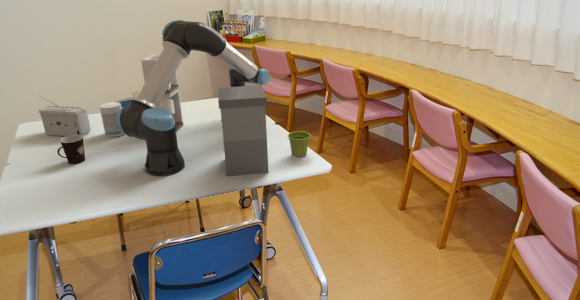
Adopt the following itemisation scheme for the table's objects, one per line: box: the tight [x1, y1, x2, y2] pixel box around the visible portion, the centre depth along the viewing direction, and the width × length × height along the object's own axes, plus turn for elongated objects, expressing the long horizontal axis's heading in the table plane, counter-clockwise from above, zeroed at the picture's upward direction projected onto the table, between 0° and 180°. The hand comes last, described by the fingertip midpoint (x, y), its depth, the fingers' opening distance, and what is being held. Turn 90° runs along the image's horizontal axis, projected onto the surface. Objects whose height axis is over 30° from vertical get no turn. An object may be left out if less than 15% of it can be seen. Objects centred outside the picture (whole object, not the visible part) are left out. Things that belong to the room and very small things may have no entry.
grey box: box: [217, 84, 270, 177], centre depth 173 cm, size 17×17×30 cm
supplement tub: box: [99, 101, 125, 138], centre depth 212 cm, size 10×10×15 cm
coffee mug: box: [57, 135, 86, 165], centre depth 185 cm, size 12×9×10 cm
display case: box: [140, 54, 184, 133], centre depth 213 cm, size 11×11×35 cm
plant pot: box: [287, 131, 311, 158], centre depth 186 cm, size 9×9×9 cm
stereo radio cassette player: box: [37, 95, 91, 137], centre depth 213 cm, size 21×8×20 cm, turn 77°
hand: (241, 113), depth 197 cm, fingers open, 4 cm apart
